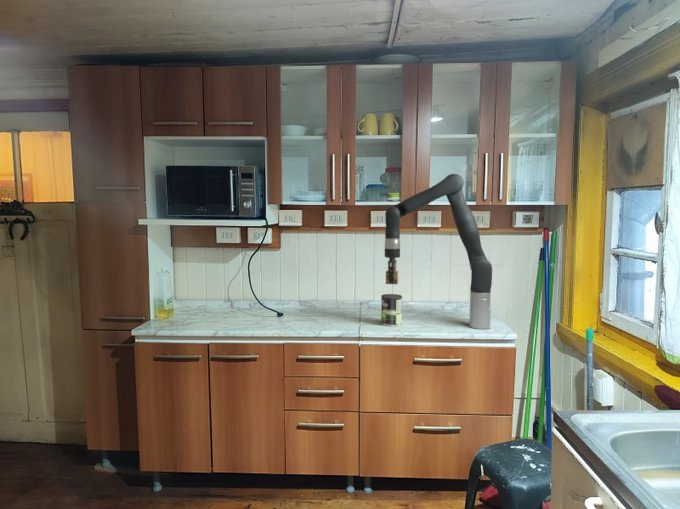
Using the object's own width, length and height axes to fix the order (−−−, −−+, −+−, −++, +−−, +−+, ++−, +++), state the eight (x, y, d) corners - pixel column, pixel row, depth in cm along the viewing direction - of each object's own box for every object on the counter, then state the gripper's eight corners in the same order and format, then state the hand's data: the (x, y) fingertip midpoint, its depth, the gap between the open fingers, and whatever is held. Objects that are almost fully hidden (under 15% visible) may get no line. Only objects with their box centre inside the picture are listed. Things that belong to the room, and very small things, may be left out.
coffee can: (386, 327, 203) (386, 298, 202) (377, 322, 213) (377, 294, 212) (405, 325, 206) (406, 297, 205) (396, 320, 216) (396, 293, 215)
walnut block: (397, 282, 210) (398, 270, 209) (397, 284, 205) (397, 272, 204) (386, 282, 211) (387, 270, 211) (385, 284, 206) (385, 271, 205)
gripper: (398, 248, 199) (398, 284, 200) (401, 246, 212) (400, 280, 214) (382, 248, 200) (382, 283, 202) (386, 246, 214) (385, 279, 216)
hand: (391, 281), depth 208 cm, fingers closed on walnut block, 5 cm apart
